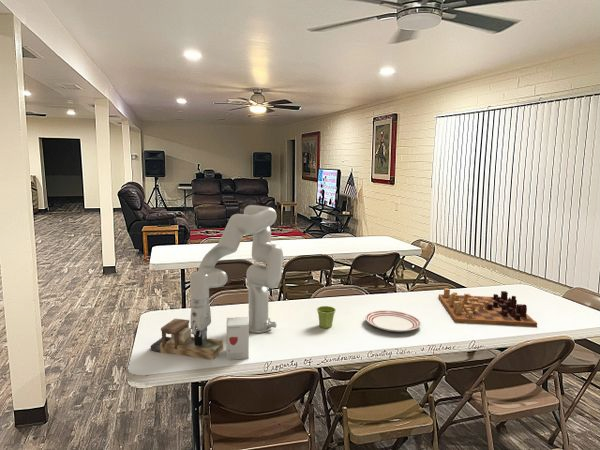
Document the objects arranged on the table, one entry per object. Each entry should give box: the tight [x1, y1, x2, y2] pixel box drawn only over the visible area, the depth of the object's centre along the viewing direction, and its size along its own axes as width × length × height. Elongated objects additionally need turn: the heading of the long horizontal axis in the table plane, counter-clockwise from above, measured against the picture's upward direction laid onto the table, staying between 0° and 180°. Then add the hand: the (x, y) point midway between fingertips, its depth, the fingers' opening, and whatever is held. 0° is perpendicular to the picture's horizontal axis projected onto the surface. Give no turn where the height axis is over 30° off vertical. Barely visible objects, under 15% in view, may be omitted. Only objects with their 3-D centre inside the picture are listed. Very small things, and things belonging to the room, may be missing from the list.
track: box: [150, 318, 224, 361], centre depth 182 cm, size 28×11×11 cm, turn 76°
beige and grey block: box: [170, 327, 208, 348], centre depth 181 cm, size 14×6×8 cm, turn 76°
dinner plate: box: [365, 309, 422, 333], centre depth 214 cm, size 28×27×3 cm
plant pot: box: [316, 305, 336, 329], centre depth 211 cm, size 9×9×9 cm
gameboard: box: [438, 287, 538, 327], centre depth 236 cm, size 40×40×9 cm
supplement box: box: [226, 316, 250, 361], centre depth 178 cm, size 9×9×15 cm
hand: (200, 342), depth 180 cm, fingers closed on beige and grey block, 3 cm apart
